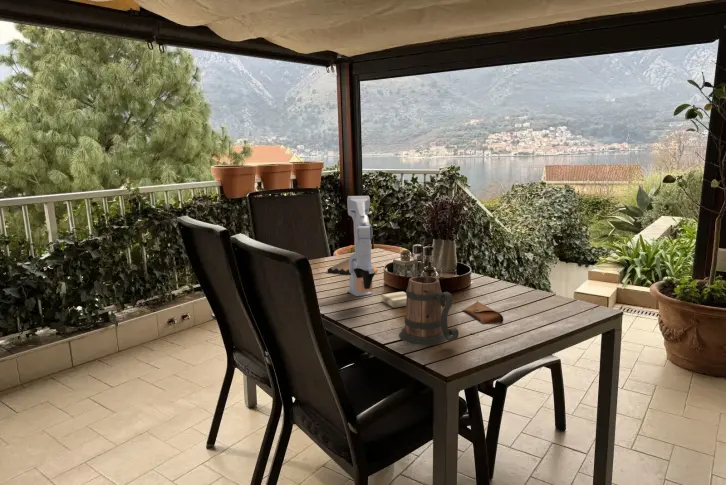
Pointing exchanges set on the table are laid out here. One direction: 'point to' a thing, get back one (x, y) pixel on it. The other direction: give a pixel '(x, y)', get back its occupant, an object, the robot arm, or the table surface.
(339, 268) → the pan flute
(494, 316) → the sunglasses case
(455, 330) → the tankard
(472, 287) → the table surface
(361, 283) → the cube
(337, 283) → the table surface
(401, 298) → the base
